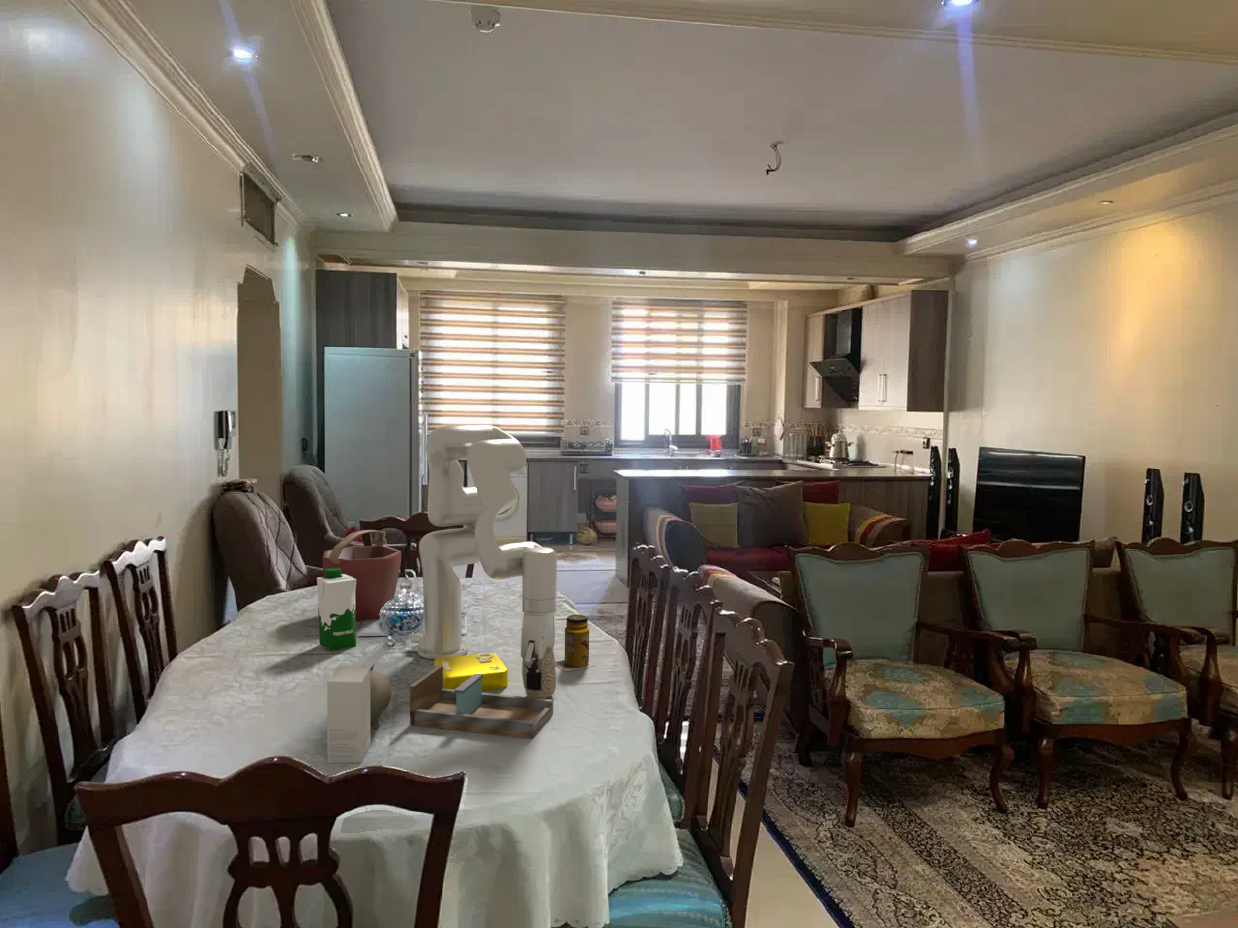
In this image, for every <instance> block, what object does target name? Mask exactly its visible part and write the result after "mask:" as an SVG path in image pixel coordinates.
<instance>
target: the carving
mask: <svg viewBox="0 0 1238 928" xmlns="http://www.w3.org/2000/svg"><path fill="white" fill-rule="evenodd" d="M533 657H534V658H537V657H538V655H537V654H534V655H533ZM555 662H556V657H555V652H554V647H553V648H552V645H549V646H548V647H547V649H546V653H545V656H544V658H542V659H541V665H540V672H541V690H539V691H538V690H528V689H527V672H526V664H525V658H522V663H521V664H522V667H521V675H522V682H523V687H524V689H525V694H526V697H530V698H540V699H547V698H549V697H552V696H553V695H554V694H555V691H556V687H557V672H556V665H555ZM533 663H535V664H536V665H537V661H533Z"/></svg>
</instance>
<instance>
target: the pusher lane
mask: <svg viewBox="0 0 1238 928" xmlns="http://www.w3.org/2000/svg"><path fill="white" fill-rule="evenodd" d="M553 714H554V699H547V698H544V699H540V698H530V697H528V696H518V695H508V694H507V695H506V694H499V693H490V692H482V703H481V704H480V705H479V706H478V707H477V708H476V709H474V710H473V711H472V712H471V713H470V714H460V713H456V693H454V690H452V689H443V666H437V667H436V668H434V667H433V669H431V670H430V671H429V672H427V673H426V674H425V675H423V676H422V677H420V678H419V679H417V680H416V681H415V682H413V683H412V684H410V685H409V725H412V726H420V727H430V728H438V729H447V730H455V731H462V732H463V731H465V732H474V733H480V734H489V735H490V734H491V735H499V736H508V737H515V738H516V737H517V738H523V739H524V738H525V739H533V738H534V737H535V736H536V735H537V733H538V732H539V731H540V730H541V729H542V728H543V726H545V724H546V723H547V721H548V720H549V719H550V718H551V717H552V716H553Z"/></svg>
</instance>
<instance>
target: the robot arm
mask: <svg viewBox="0 0 1238 928" xmlns="http://www.w3.org/2000/svg"><path fill="white" fill-rule="evenodd" d="M425 452H426V459H427V465H428V471H429V473H428V489H427V493H428V494H427V518H428V521H429V523H431V524H432V525H433V526H436V527H454V526H460V525H461V526H463V527H462V528H461V527H460V528H453V529H452V528H451V529H442V530H435V531H432V532H429V533H427V534H425V535H424V536H422V538H421V539H420V541H419V545H418V553H419V554H418V555H419V559H420V564H421V569H422V572H421V573H422V585H423V587H422V589H423V590H422V591H423V593H422V594H423V633H422V634H421V633H420V634H419V633H411V634H410V643H411V644H418V645H419V647H418V649H417V655H418V656H419V657H422V658H423V659H427V660H428V659H429V660H435V659H437V658H441V657H451V656H461V655H467V653H468V652H469V647H468V645H467V644H466V643H464V642H463V641H462V640H463V637H462V635H463V632H462V630H463V629H462V628H463V627H462V626H463V625H462V622H463V621H462V618H463V617H462V613H463V612H462V611H463V610H462V607H463V606H462V583H461V580H460V578H459V577H458V574H456V572H455V571H454V567H455V568H456V567H461V566H465V565H473V564H476V563H479V562H480V564H481V567H482V569H483V571H484V573H485V574H486V575H487V576H488V578H491V579H492V580H503V579H504V580H506V579H510V578H516V577H521V578H522V580H521V584H522V587H521V590H522V591H521V592H522V595H521V598H522V600H521V601H522V603H521V604H522V605H521V607H522V609H521V611H522V613H523V617H522V625H521V635H520V636H521V638H520V640H521V641H520V657H521V659H523V658H525V664H526V672H527V689H528V690H538V691H539V690H541V672H540V665H541V659H542V658H544V656H545V653H546V649H547V647H548V646H549V645H552V648H553V649H554V647H555V637H556V636H555V632H556V631H555V625H556V624H555V613H556V612H557V610H558V609H557V606H558V605H557V604H558V603H557V602H558V601H557V595H558V594H557V593H558V590H557V588H558V584H557V583H558V582H557V580H558V577H557V575H558V571H557V569H558V568H557V567H558V556H557V552H556V550H554V549H553V548H550V547H546V546H544V547H543V546H542V545H540V544H538V543H536V542H534V541H528V540H527V541H521V542H513V543H512V542H511V543H505V544H498V541H497V539H496V536H495V532H494V522H495V519H496V517H497V516H498V515H500V514H502V513H505V512H506V511H507V510H509V509H510V508H512V507H513V506H514V505H515V504H516V503H517V501H518V493H517V490H516V488H515V485H514V484H515V483H514V482H513V479H512V476H511V474H518V473H521V472H522V471H524V469H525V467H526V464H527V453H526V451H525V448H524V446H523V445H522V443H521V442H520V440H518V439H517V438H515V437H514V436H513V435H511V434H508V433H507V432H505V431H503V430H502V429H500V428H499V427H497V426H493V425H490V424H473V425H472V424H471V425H470V424H469V425H468V424H463V425H462V424H456V425H445V426H443V425H442V426H439V427H437V428H434V429H433V430H432V431H430V433H429V434H428V436H427V439H426V444H425ZM461 460H463V461H464V460H466V462H467V466H468V468H469V471H470V474H471V478H472V481H473V483H474V486H464V479H465V478H464V475H465V474H464V469H463V467H462V465H461V464H460V462H459V461H461ZM534 654H537V655H538V657H537V658H534V657H533V655H534ZM533 661H537V665H536V664H535V663H533Z"/></svg>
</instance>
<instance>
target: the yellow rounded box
mask: <svg viewBox="0 0 1238 928" xmlns="http://www.w3.org/2000/svg"><path fill="white" fill-rule="evenodd" d="M433 663H434V664H433V666H434V667H433V669H434V668H436V667H437V666H443V689H452V690H455V689H456V688H458V687H459V686H460V685H461V684H462V683H464V682H465V681H466V680H467V679H469V678H470V677H471V676H472V675H474V674H475V673H479V674H483V677H482V691H491V690H498V689H504V688H506V687H508V684H509V683H508V682H509V681H508V679H509V676H508V675H509V673H508V667H507V666H506V665H505V663H504V662H503V661H502V660H501V658H500V657H499V656H498V655H497V654H496V653H494V652H482V653H475V654H474V653H473V654H464V655H461V656H451V657H441V658H437V659H434V662H433Z"/></svg>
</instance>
